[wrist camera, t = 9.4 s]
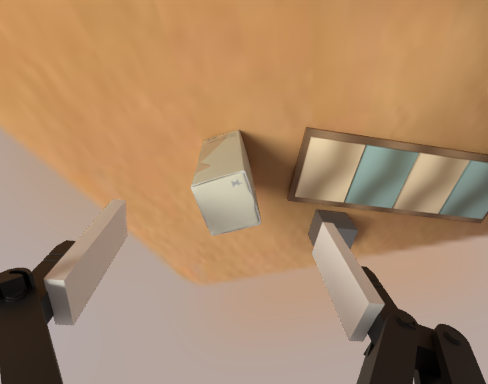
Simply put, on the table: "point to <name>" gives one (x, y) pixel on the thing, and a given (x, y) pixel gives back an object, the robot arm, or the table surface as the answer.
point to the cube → (340, 222)
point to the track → (390, 176)
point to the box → (225, 185)
